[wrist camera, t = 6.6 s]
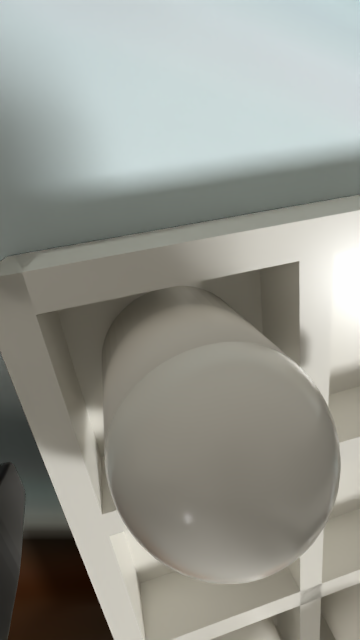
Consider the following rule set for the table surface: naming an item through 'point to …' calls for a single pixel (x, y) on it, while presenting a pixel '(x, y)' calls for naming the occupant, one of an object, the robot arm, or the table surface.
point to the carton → (87, 404)
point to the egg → (213, 439)
